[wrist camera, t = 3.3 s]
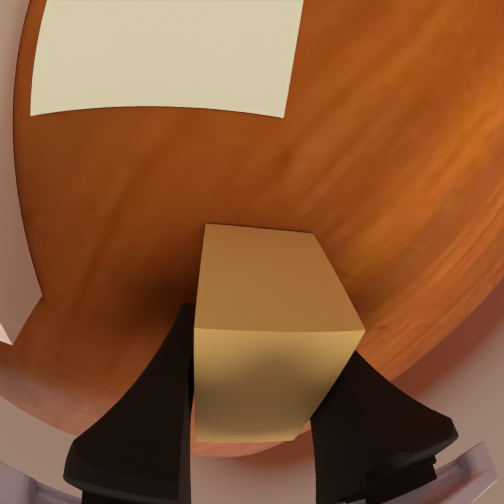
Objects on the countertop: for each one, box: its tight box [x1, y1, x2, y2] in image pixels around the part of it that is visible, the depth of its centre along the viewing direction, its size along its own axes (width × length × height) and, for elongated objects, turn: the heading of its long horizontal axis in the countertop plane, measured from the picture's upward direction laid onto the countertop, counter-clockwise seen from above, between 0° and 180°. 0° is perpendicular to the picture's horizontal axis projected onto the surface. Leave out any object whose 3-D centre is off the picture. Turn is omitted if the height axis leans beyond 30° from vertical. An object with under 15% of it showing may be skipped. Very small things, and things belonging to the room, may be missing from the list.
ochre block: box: [194, 223, 366, 443], centre depth 10 cm, size 4×7×5 cm, turn 172°
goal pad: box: [31, 0, 303, 118], centre depth 6 cm, size 9×6×1 cm, turn 82°
